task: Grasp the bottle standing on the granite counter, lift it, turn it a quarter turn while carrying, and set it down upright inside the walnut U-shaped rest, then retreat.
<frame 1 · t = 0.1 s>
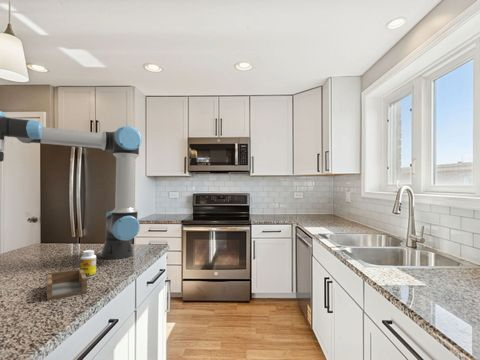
walnut u rest: (66, 290, 96), on the counter
supplement bottle: (87, 277, 111), on the counter
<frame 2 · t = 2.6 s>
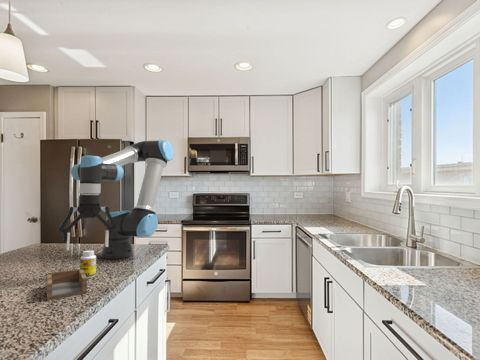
hand: (87, 248, 111), 11 cm above the counter, fingers open, 13 cm apart
nothing on the counter moved.
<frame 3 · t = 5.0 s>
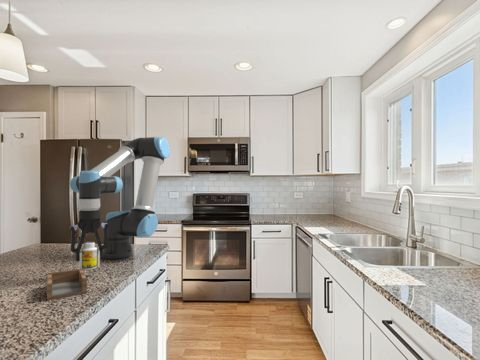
hand: (89, 267, 111), 4 cm above the counter, fingers closed on supplement bottle, 6 cm apart
supplement bottle: (89, 268, 111), point 3 cm above the counter, touching gripper
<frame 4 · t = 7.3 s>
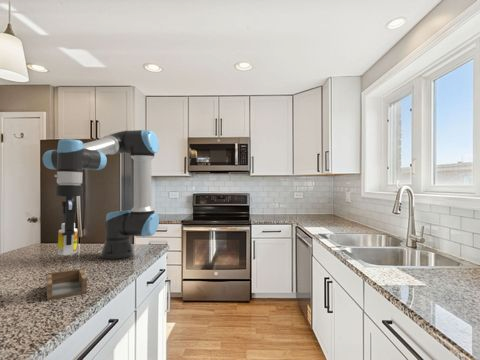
hand: (67, 252, 95), 13 cm above the counter, fingers closed on supplement bottle, 6 cm apart
supplement bottle: (67, 254, 95), point 13 cm above the counter, touching gripper
when the fingers open (2 cm above the counter, at t = 9.5 s): supplement bottle stays where it is, resting on walnut u rest.
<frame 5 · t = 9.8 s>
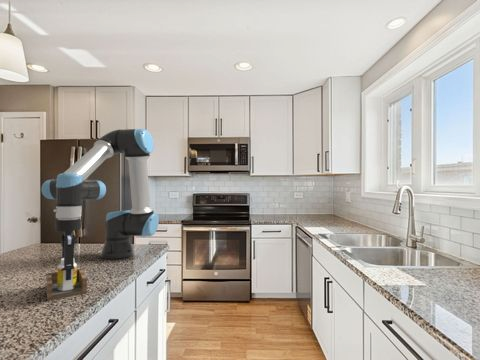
hand: (66, 285, 95), 2 cm above the counter, fingers open, 9 cm apart
supplement bottle: (66, 289, 95), point 1 cm above the counter, touching walnut u rest
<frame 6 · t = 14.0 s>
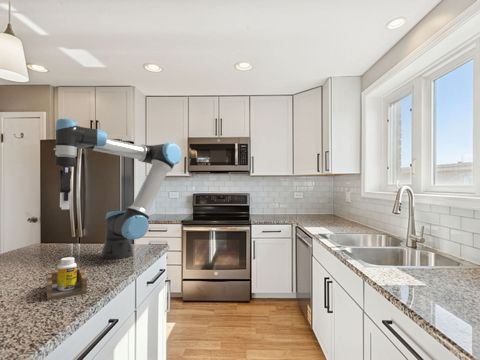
hand: (64, 208, 115), 27 cm above the counter, fingers open, 13 cm apart
nothing on the counter moved.
at the end: supplement bottle inside the target area on the walnut u rest (1.1 cm from its centre), point 0.8 cm above the walnut u rest's base; supplement bottle tilted 0°; the gripper is holding nothing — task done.
